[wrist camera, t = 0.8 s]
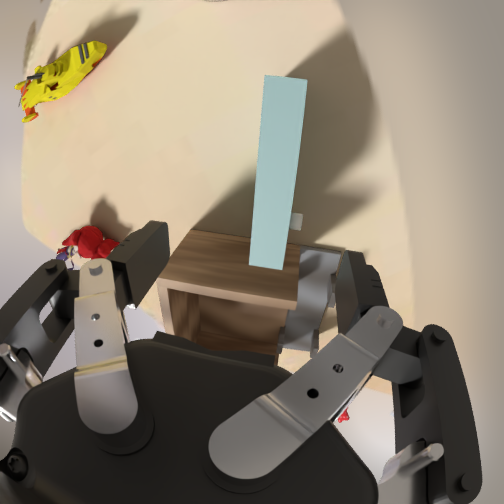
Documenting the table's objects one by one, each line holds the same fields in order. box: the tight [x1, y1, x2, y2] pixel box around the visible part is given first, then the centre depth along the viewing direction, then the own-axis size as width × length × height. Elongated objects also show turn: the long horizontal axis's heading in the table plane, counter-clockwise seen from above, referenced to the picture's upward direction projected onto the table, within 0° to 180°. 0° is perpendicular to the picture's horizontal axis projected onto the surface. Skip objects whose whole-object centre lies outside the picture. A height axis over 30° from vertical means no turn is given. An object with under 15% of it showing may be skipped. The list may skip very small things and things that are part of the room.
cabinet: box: [156, 229, 341, 365], centre depth 38 cm, size 20×21×11 cm
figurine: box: [51, 226, 119, 270], centre depth 41 cm, size 6×8×15 cm
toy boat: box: [15, 40, 107, 122], centre depth 24 cm, size 6×18×10 cm, turn 104°
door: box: [249, 75, 307, 270], centre depth 26 cm, size 16×4×12 cm, turn 176°
